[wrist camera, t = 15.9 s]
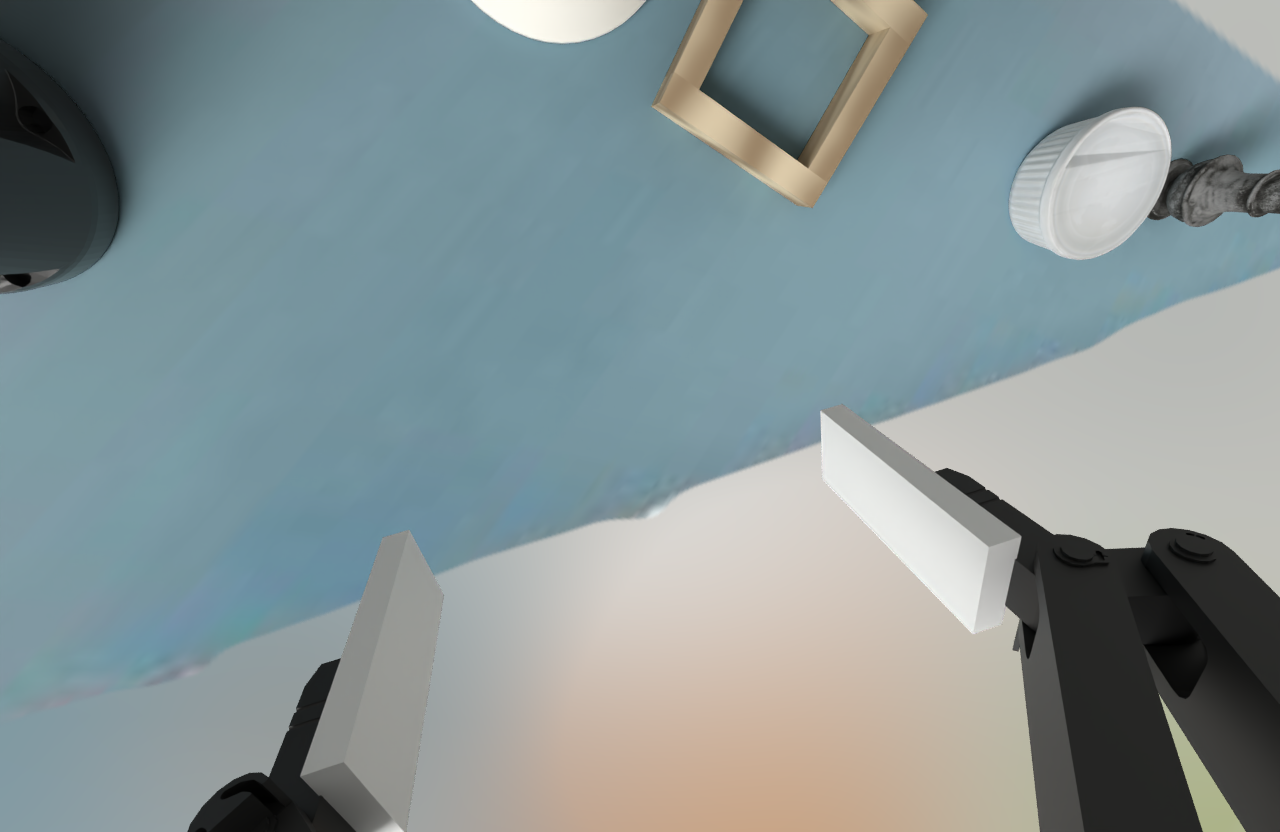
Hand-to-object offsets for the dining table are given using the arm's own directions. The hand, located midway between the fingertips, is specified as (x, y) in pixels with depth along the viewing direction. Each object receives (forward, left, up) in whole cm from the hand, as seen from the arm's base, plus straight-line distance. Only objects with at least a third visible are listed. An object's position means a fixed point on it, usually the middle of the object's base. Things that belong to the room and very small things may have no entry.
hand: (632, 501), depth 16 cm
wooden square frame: (+7, +22, -28) cm, 37 cm away
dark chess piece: (+47, +34, -29) cm, 65 cm away
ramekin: (+35, +28, -29) cm, 53 cm away
